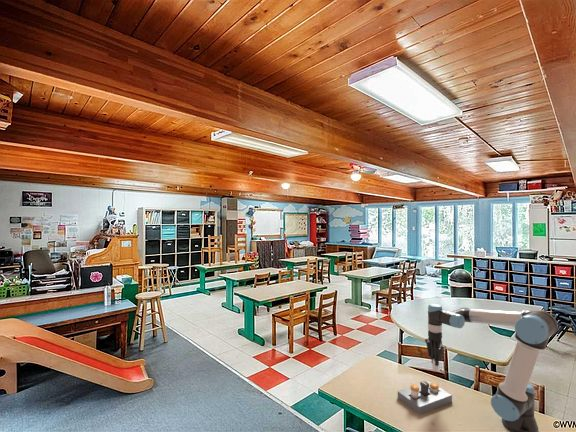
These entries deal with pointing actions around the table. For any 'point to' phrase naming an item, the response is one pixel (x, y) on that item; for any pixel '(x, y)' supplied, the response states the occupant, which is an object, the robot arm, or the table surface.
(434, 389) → the knob far
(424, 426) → the table surface
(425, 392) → the dial
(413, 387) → the knob near
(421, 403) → the panel
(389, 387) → the table surface
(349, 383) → the table surface
